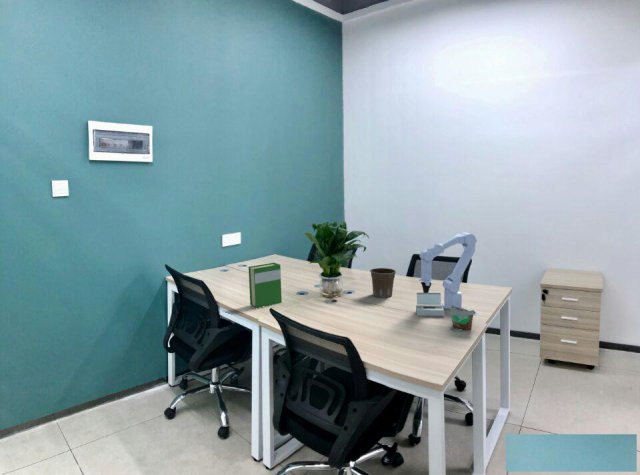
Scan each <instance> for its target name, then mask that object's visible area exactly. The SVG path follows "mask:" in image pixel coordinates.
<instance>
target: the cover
mask: <svg viewBox="0 0 640 475" xmlns="http://www.w3.org/2000/svg"><path fill="white" fill-rule="evenodd" d="M441 294H442V293H441V292H429V293H423V292H416V305H432V306H442V303H441V302H442V299H441V298H442V295H441Z"/></svg>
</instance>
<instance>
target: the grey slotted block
mask: <svg viewBox="0 0 640 475" xmlns="http://www.w3.org/2000/svg"><path fill="white" fill-rule="evenodd" d="M421 307H437V309H424V308H421ZM415 313H416V315H417V317H445V308H443V305H417V304H416V305H415Z"/></svg>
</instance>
